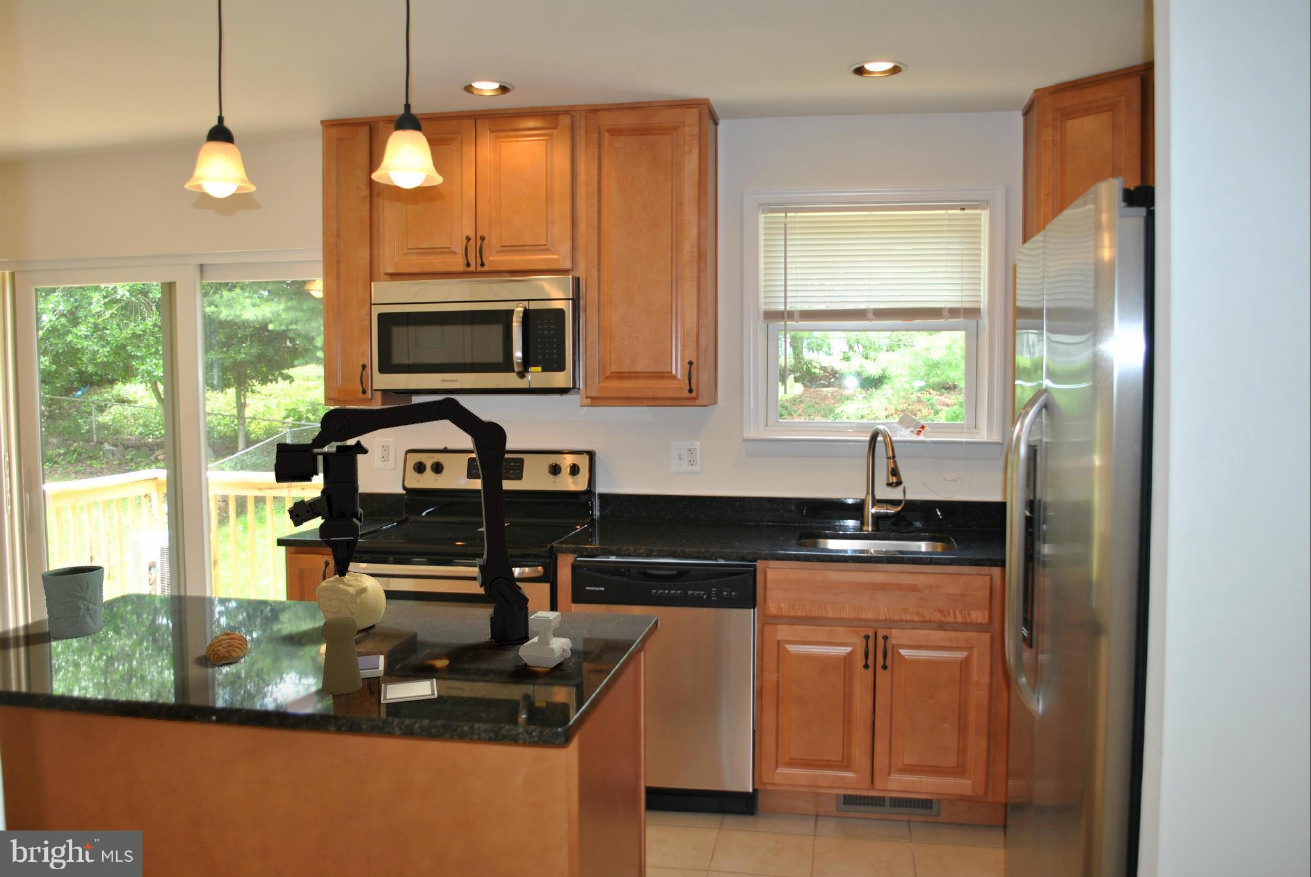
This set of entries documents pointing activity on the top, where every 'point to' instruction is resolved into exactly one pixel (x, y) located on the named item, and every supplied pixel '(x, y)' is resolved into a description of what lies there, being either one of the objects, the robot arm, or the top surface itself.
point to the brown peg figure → (340, 657)
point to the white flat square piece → (408, 691)
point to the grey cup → (74, 601)
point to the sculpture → (352, 598)
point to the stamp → (545, 641)
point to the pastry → (227, 648)
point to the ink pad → (371, 665)
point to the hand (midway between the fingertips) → (343, 571)
